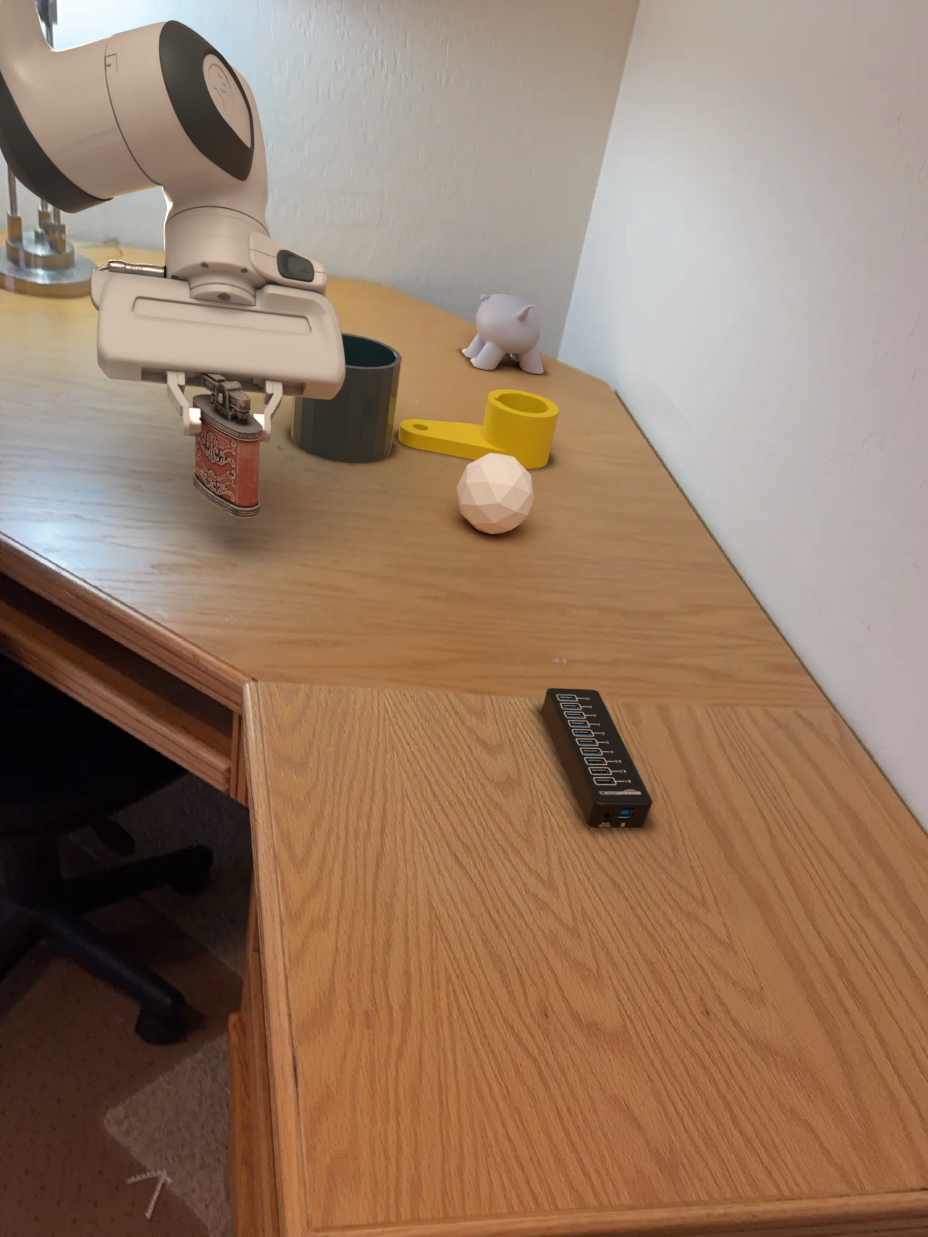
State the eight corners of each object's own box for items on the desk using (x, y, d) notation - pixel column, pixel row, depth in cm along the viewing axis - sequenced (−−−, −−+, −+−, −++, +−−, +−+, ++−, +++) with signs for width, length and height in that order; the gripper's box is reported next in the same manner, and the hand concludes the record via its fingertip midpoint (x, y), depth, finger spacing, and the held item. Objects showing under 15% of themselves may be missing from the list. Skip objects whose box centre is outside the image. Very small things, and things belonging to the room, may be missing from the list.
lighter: (268, 514, 92) (273, 397, 85) (235, 521, 90) (237, 401, 83) (217, 476, 96) (218, 361, 89) (184, 481, 94) (182, 364, 87)
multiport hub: (590, 712, 86) (597, 688, 85) (645, 828, 76) (654, 803, 75) (539, 710, 85) (545, 686, 84) (588, 828, 75) (596, 803, 73)
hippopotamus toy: (517, 345, 159) (529, 275, 153) (551, 381, 149) (566, 308, 143) (449, 338, 156) (459, 267, 149) (480, 375, 146) (492, 300, 139)
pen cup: (298, 459, 114) (304, 362, 107) (285, 419, 121) (289, 326, 115) (399, 466, 117) (411, 373, 111) (380, 427, 125) (390, 337, 118)
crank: (541, 445, 130) (552, 395, 126) (552, 472, 124) (564, 421, 120) (396, 425, 126) (402, 373, 122) (400, 452, 120) (407, 398, 116)
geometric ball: (504, 556, 111) (558, 515, 106) (447, 537, 106) (501, 492, 100) (489, 494, 113) (542, 451, 108) (433, 472, 108) (485, 425, 102)
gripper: (86, 233, 83) (94, 407, 82) (344, 268, 89) (353, 430, 89) (89, 278, 89) (97, 441, 88) (331, 308, 95) (339, 460, 95)
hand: (227, 436), depth 89 cm, fingers closed on lighter, 4 cm apart
